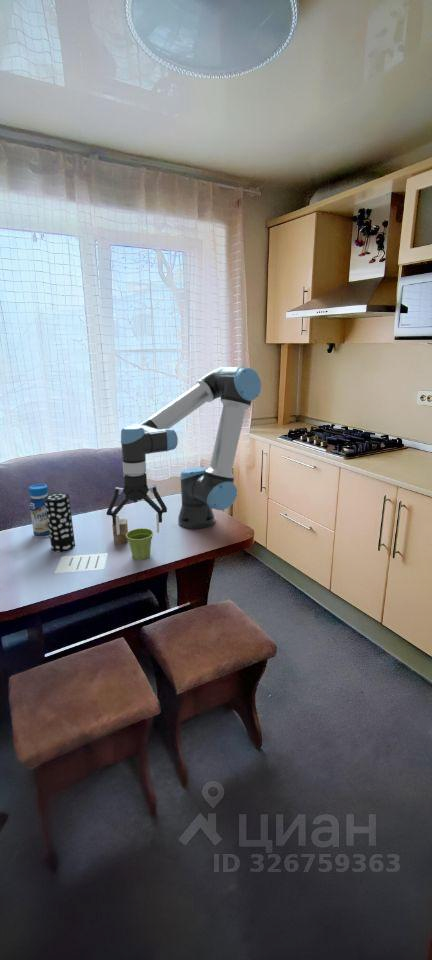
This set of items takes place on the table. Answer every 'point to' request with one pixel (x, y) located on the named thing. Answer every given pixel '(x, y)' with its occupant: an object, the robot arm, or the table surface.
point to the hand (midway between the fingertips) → (138, 532)
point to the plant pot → (140, 542)
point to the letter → (81, 563)
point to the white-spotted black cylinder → (60, 522)
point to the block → (121, 532)
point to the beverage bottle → (39, 510)
